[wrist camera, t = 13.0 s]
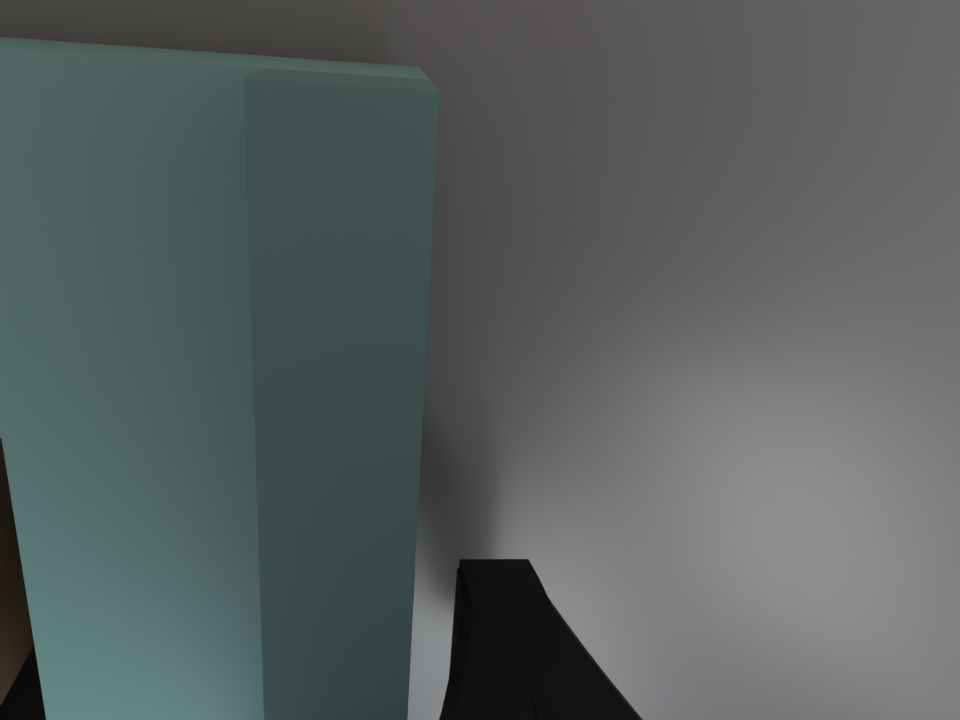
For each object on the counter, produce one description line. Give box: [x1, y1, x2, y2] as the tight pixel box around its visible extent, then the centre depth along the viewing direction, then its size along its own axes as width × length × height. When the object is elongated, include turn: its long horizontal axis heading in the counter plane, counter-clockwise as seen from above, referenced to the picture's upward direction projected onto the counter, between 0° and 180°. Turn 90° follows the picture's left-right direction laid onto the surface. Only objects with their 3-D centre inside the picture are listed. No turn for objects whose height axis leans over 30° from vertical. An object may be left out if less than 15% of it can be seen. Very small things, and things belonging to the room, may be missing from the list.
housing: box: [0, 0, 960, 720], centre depth 10 cm, size 14×18×2 cm
